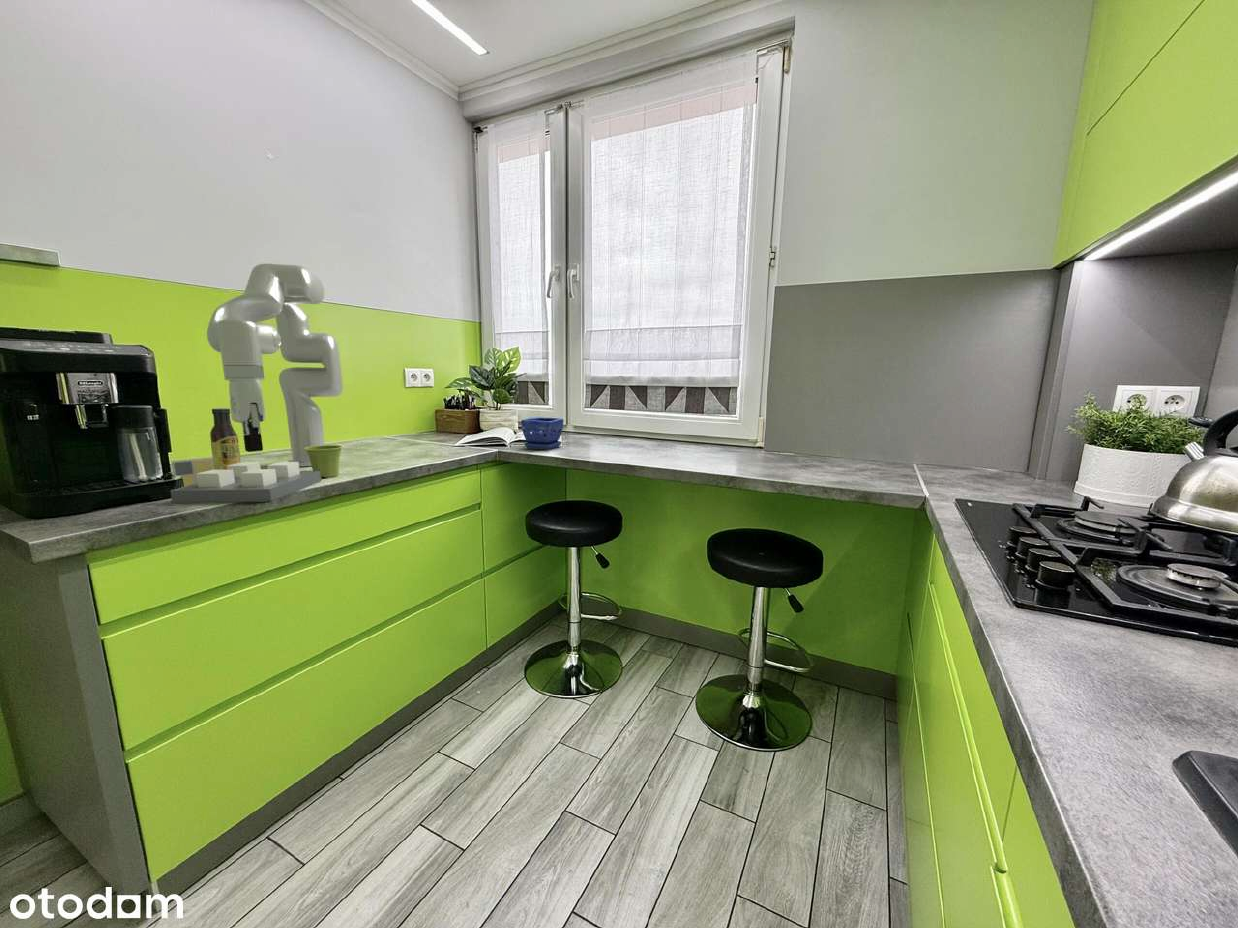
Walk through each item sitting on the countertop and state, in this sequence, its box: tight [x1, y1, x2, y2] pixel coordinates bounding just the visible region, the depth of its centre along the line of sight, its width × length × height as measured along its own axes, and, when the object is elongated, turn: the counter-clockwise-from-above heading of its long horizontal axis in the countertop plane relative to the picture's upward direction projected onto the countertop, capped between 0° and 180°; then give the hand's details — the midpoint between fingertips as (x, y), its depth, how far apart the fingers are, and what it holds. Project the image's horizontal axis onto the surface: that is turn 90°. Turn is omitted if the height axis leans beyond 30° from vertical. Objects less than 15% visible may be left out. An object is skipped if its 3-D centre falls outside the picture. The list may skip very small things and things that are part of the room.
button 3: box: [240, 468, 277, 487], centre depth 118 cm, size 5×5×4 cm
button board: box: [169, 470, 322, 504], centre depth 123 cm, size 22×22×3 cm
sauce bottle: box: [209, 407, 242, 470], centre depth 139 cm, size 6×6×20 cm
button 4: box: [266, 461, 301, 478], centre depth 128 cm, size 5×5×4 cm
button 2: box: [227, 461, 262, 478], centre depth 128 cm, size 5×5×4 cm
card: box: [170, 456, 214, 486], centre depth 125 cm, size 1×8×8 cm, turn 134°
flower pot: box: [520, 417, 564, 451], centre depth 196 cm, size 13×13×12 cm
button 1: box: [196, 470, 235, 487], centre depth 118 cm, size 5×5×4 cm
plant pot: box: [305, 444, 343, 479], centre depth 141 cm, size 9×9×9 cm
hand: (254, 450), depth 117 cm, fingers closed
